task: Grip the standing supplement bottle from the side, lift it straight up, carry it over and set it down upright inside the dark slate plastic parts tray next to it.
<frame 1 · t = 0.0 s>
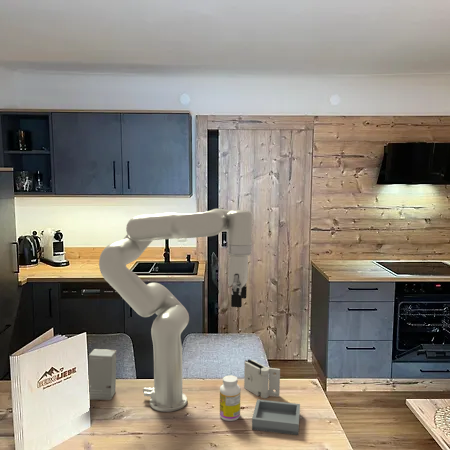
hand: (239, 302, 145), 37 cm above the table, tool pointing down, fingers open, 9 cm apart
parts tray: (276, 421, 144), on the table
hinge: (261, 392, 162), on the table
skincare box: (102, 395, 159), on the table
supplement bottle: (229, 416, 147), on the table
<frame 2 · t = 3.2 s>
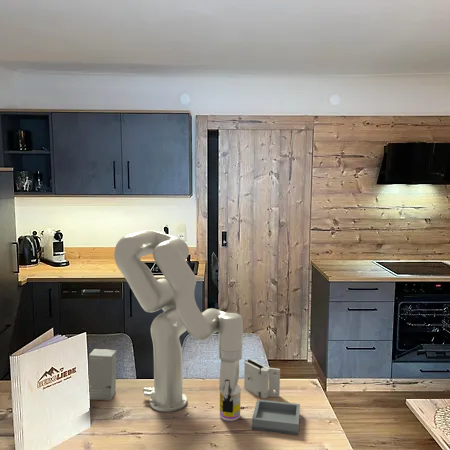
hand: (230, 405, 146), 4 cm above the table, tool pointing down, fingers closed on supplement bottle, 6 cm apart
supplement bottle: (229, 416, 146), on the table, touching gripper
everything else where it was.
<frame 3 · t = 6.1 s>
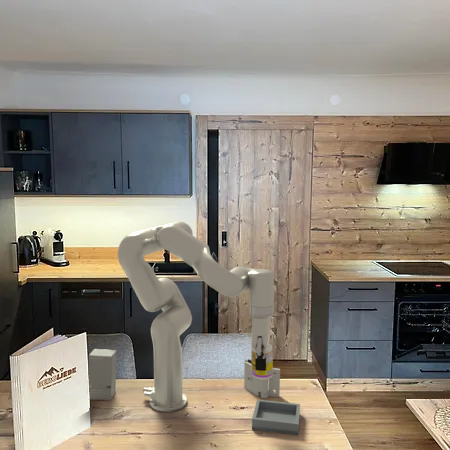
hand: (262, 364, 142), 18 cm above the table, tool pointing down, fingers closed on supplement bottle, 6 cm apart
supplement bottle: (262, 376, 143), point 15 cm above the table, touching gripper
everything else where it was.
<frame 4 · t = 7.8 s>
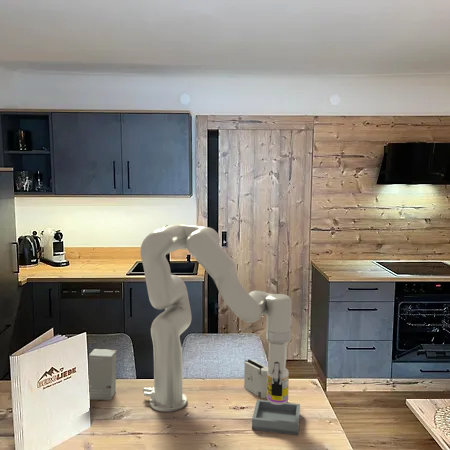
hand: (277, 389, 142), 11 cm above the table, tool pointing down, fingers closed on supplement bottle, 6 cm apart
supplement bottle: (277, 401, 143), point 7 cm above the table, touching gripper
everything else where it was.
when the fingers open (6 cm above the table, at t = 9.2 s): supplement bottle drops 1 cm, resting on parts tray.
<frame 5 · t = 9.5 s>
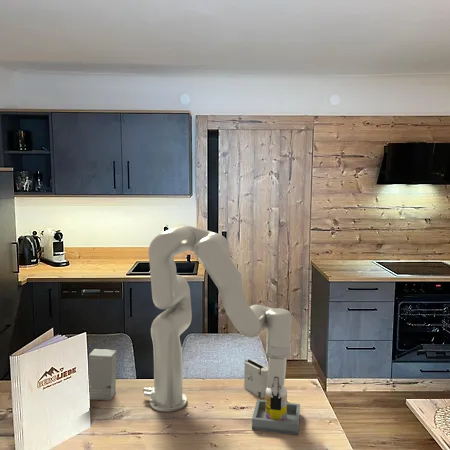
hand: (277, 401, 143), 7 cm above the table, tool pointing down, fingers open, 9 cm apart
supplement bottle: (275, 419, 143), point 1 cm above the table, touching parts tray
everything else where it was.
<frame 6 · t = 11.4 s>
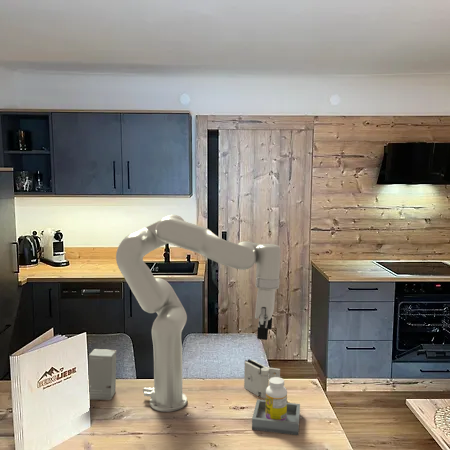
hand: (264, 333, 148), 26 cm above the table, tool pointing down, fingers open, 9 cm apart
nothing on the table moved.
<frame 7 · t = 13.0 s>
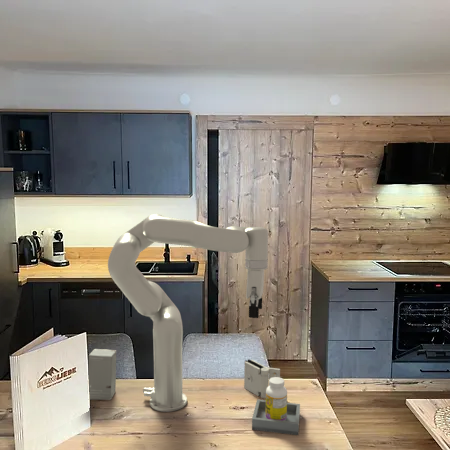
hand: (255, 313, 155), 30 cm above the table, tool pointing down, fingers open, 9 cm apart
nothing on the table moved.
at the end: supplement bottle 0.3 cm off-centre on the parts tray, point 0.8 cm above the parts tray's base; supplement bottle tilted 0°; the gripper is holding nothing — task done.
